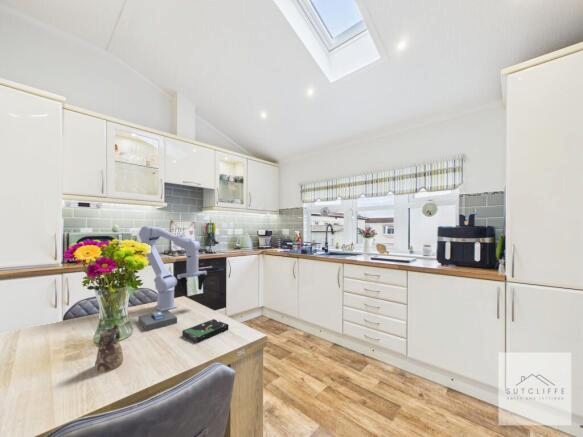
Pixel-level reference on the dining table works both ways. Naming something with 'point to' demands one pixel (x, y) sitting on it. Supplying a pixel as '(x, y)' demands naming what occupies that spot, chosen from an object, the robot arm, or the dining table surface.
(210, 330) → the disk drive
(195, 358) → the dining table surface
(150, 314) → the chassis
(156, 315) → the servo
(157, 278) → the robot arm
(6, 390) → the dining table surface
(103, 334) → the figurine
